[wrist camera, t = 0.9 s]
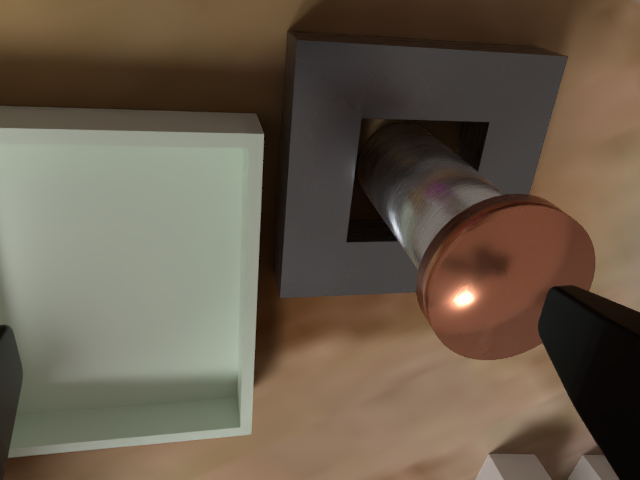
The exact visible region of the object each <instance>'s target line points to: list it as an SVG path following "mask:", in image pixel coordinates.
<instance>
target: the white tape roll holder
mask: <svg viewBox="0 0 640 480" xmlns="http://www.w3.org/2000/svg"><path fill="white" fill-rule="evenodd" d="M475 480H552V479H551V478H550V476H549V475H548V473H547V472H546V470H545V469H544V467H543V466H542V464H541V463H540V461H539V460H538V458H537V457H536V455H535V454H488V456H487V458H486V460H485V462H484V464H483V466H482V468H481V470H480V472H479V474H478V476H477V478H476V479H475ZM567 480H619V479H618V477H617V476H616V474H615V472H614V471H613V469H612V468H611V466H610V464H609V463H608V461H607V459H606V458H605V456H604V455H582V457H581V458H580V460H579V461H578V463H577V465H576V466H575V468H574V470H573V471H572V473H571V475H570V476H569V478H568V479H567Z"/></svg>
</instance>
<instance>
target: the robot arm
mask: <svg viewBox="0 0 640 480" xmlns="http://www.w3.org/2000/svg"><path fill="white" fill-rule="evenodd" d="M538 333H539V336H540V338H541V340H542V343H543V345H544V347H545V349H546V351H547V353H548V355H549V357H550V359H551V361H552V363H553V365H554V367H555V369H556V371H557V373H558V375H559V377H560V379H561V381H562V383H563V386H564V388H565V390H566V392H567V394H568V396H569V398H570V400H571V401H572V403H573V405H574V407H575V409H576V411H577V412H578V414H579V416H580V417H581V419H582V421H583V422H584V424H585V426H586V427H587V429H588V430H589V432H590V434H591V435H592V437H593V438H594V440H595V442H596V443H597V445H598V447H599V448H600V450H601V451H602V453H603V455H604V456H605V458H606V459H607V461H608V463H609V464H610V466H611V468H612V469H613V471H614V472H615V474H616V476H617V477H618V479H619V480H640V312H638V311H635V310H633V309H630V308H628V307H626V306H623V305H621V304H618V303H616V302H613V301H611V300H609V299H606V298H604V297H601V296H599V295H596V294H594V293H592V292H589V291H587V290H584V289H582V288H580V287H577V286H574V285H564V286H553V287H552V288H550V289H549V290H548V292H547V294H546V298H545V301H544V304H543V308H542V311H541V314H540V318H539V321H538ZM22 381H23V368H22V363H21V359H20V355H19V351H18V347H17V343H16V339H15V335H14V332H13V330H12V328H11V327H10V326H9V325H7V324H1V325H0V480H3V477H4V473H5V469H6V464H7V459H8V454H9V449H10V444H11V439H12V434H13V428H14V423H15V418H16V413H17V408H18V403H19V397H20V392H21V387H22Z"/></svg>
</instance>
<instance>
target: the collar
mask: <svg viewBox="0 0 640 480" xmlns="http://www.w3.org/2000/svg"><path fill="white" fill-rule="evenodd" d="M567 58H568V56H565V55H562V54H559V53H555V52H552V51H549V50H546V49H543V48H540V47H531V46H516V45H500V44H484V43H469V42H453V41H438V40H422V39H407V38H391V37H376V36H360V35H344V34H329V33H313V32H298V31H287V47H286V64H285V81H284V99H283V116H282V134H281V151H280V168H279V186H278V203H277V220H276V238H275V255H274V276H275V280H276V284H277V288H278V292H279V296H280V298H292V297H315V296H339V295H362V294H386V293H409V292H416V280H417V273H418V269H417V268H416V266H415V265H414V263H413V262H412V260H411V259H410V257H409V256H408V255H407V253H406V252H405V250H404V249H403V247H402V246H401V244H400V243H399V242H398V240H397V239H396V237H395V236H394V234H393V233H392V231H391V230H390V228H389V227H388V226H387V224H386V223H385V221H384V220H349V216H350V208H351V200H352V192H353V184H354V175H355V167H356V159H357V151H358V143H359V135H360V127H361V119H362V118H372V119H405V120H438V121H464V123H463V128H462V133H461V138H460V142H459V147H458V152H457V155H458V156H459V157H460V158H461V159H463V160H464V161H465V162H466V163H467V164H469V165H470V166H471V167H472V168H474V169H475V170H476V171H477V172H479V173H480V174H481V175H482V176H483V177H485V178H486V179H487V180H488V181H490V182H491V183H492V184H493V185H494V186H496V187H497V188H498V189H499V190H501V191H502V192H503V193H504V194H529V192H530V189H531V185H532V182H533V178H534V175H535V171H536V168H537V164H538V161H539V157H540V153H541V150H542V146H543V143H544V139H545V136H546V132H547V129H548V125H549V122H550V118H551V114H552V111H553V107H554V104H555V100H556V97H557V93H558V90H559V86H560V83H561V79H562V75H563V72H564V68H565V65H566V61H567Z"/></svg>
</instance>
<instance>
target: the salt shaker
mask: <svg viewBox="0 0 640 480" xmlns="http://www.w3.org/2000/svg"><path fill="white" fill-rule="evenodd" d="M357 176H358V181H359V183H360V186H361V187H362V189H363V191H364V192H365V194H366V195H367V197H368V198H369V200H370V201H371V202H372V204H373V205H374V207H375V208H376V210H377V211H378V213H379V214H380V215H381V217H382V218H383V220H384V221H385V223H386V224H387V226H388V227H389V228H390V230H391V231H392V233H393V234H394V236H395V237H396V239H397V240H398V242H399V243H400V244H401V246H402V247H403V249H404V250H405V252H406V253H407V255H408V256H409V257H410V259H411V260H412V262H413V263H414V265H415V266H416V268H417V269H418V273H417V280H416V294H417V299H418V303H419V306H420V309H421V311H422V312H423V314H424V316H425V317H426V319H427V321H428V322H429V324H430V325H431V327H432V329H433V330H434V332H435V333H436V335H437V337H438V338H439V339H440V340H441V342H442V343H443V344H444V345H445V346H446V347H448V348H449V349H450V350H452V351H453V352H455V353H457V354H459V355H462V356H464V357H468V358H472V359H478V360H496V359H503V358H508V357H512V356H515V355H518V354H521V353H524V352H526V351H528V350H531V349H533V348H535V347H536V346H538V345H540V344H542V340H541V338H540V336H539V333H538V321H539V318H540V314H541V311H542V308H543V304H544V301H545V298H546V294H547V292H548V290H549V289H550V288H552V287H553V286H564V285H574V286H577V287H580V288H582V289H584V290H587V291H589V289H590V287H591V284H592V281H593V277H594V271H595V252H594V247H593V244H592V241H591V239H590V237H589V235H588V233H587V232H586V231H585V229H584V228H583V227H582V226H581V225H580V224H579V223H578V222H577V221H575V220H574V219H573V218H571V217H570V216H569V215H567V214H566V213H565V212H563V211H562V210H560V209H559V208H558V207H556V206H555V205H554V204H552V203H550V202H549V201H547V200H545V199H543V198H540V197H537V196H533V195H529V194H504V193H503V192H502V191H501V190H499V189H498V188H497V187H496V186H494V185H493V184H492V183H491V182H490V181H488V180H487V179H486V178H485V177H483V176H482V175H481V174H480V173H479V172H477V171H476V170H475V169H474V168H472V167H471V166H470V165H469V164H467V163H466V162H465V161H464V160H463V159H461V158H460V157H459V156H458V155H456V154H455V153H454V152H453V151H452V150H450V149H449V148H448V147H447V146H445V145H444V144H443V143H442V142H441V141H439V140H438V139H437V138H436V137H434V136H433V135H432V134H431V133H430V132H428V131H427V130H426V129H424V128H423V127H421V126H418V125H415V124H411V123H398V124H393V125H390V126H387V127H385V128H383V129H381V130H380V131H378V132H377V133H376V134H374V135H373V136H372V137H371V138H370V139H369V140H368V142H367V143H366V144H365V146H364V147H363V149H362V151H361V153H360V156H359V159H358V164H357Z"/></svg>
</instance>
